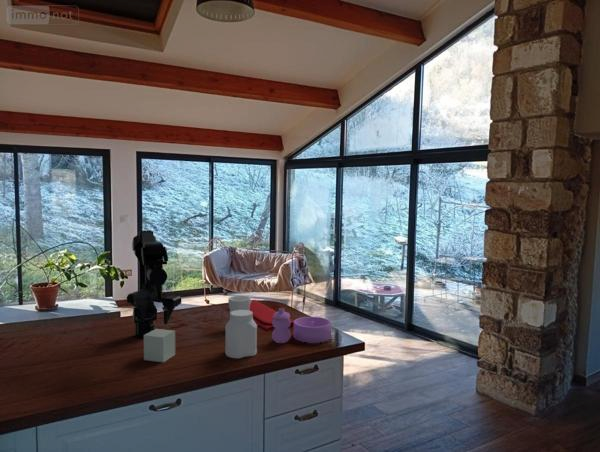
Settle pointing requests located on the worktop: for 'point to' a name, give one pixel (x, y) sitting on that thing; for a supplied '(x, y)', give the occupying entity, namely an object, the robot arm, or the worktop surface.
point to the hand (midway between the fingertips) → (154, 323)
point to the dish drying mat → (264, 315)
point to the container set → (300, 328)
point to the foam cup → (239, 303)
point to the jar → (241, 334)
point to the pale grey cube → (159, 345)
